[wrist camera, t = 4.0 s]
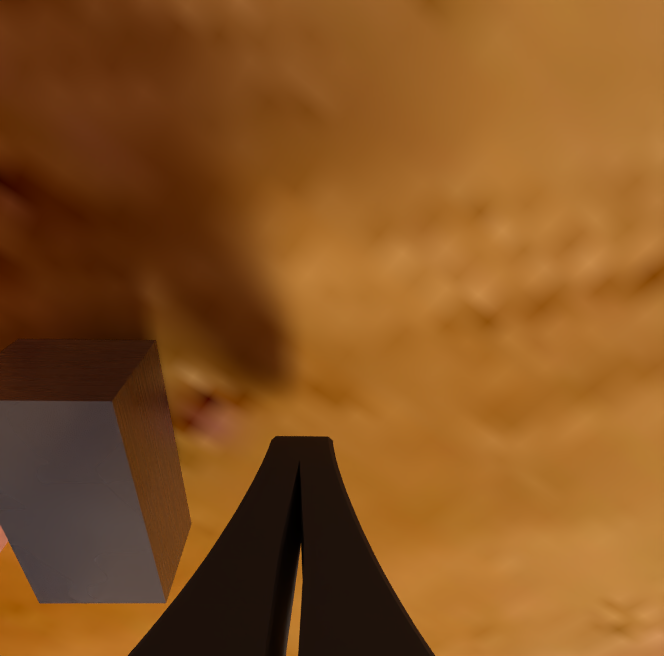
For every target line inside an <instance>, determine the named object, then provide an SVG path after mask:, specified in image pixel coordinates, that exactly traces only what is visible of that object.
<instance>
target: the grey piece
mask: <svg viewBox="0 0 664 656" xmlns="http://www.w3.org/2000/svg"><path fill="white" fill-rule="evenodd" d="M0 525H1V527H2V529H3V531H4V533H5V535H6V537H7V539H8V541H9V543H10V545H11V547H12V549H13V551H14V553H15V555H16V557H17V559H18V561H19V563H20V565H21V567H22V569H23V571H24V573H25V575H26V577H27V579H28V581H29V583H30V585H31V587H32V589H33V591H34V593H35V595H36V597H37V599H38V601H39V603H166V602H167V598H168V595H169V592H170V589H171V586H172V583H173V580H174V577H175V573H176V570H177V567H178V564H179V561H180V558H181V555H182V552H183V548H184V545H185V542H186V539H187V536H188V533H189V530H190V527H191V519H190V514H189V509H188V504H187V499H186V494H185V488H184V483H183V478H182V473H181V468H180V463H179V458H178V452H177V447H176V442H175V437H174V432H173V427H172V422H171V417H170V411H169V406H168V401H167V396H166V391H165V386H164V381H163V375H162V370H161V365H160V360H159V355H158V350H157V345H156V340H74V339H17V340H16V341H15V342H13V343H12V344H11V345H9V346H8V347H7V348H6V349H4V350H3V351H2V352H0Z"/></svg>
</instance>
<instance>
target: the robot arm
mask: <svg viewBox="0 0 664 656" xmlns="http://www.w3.org/2000/svg"><path fill="white" fill-rule="evenodd" d="M300 546H301V550H302V575H303V585H302V603H301V619H300V635H299V652H298V656H435V655H434V653H433V652H432V650H431V649H430V647H429V646H428V644H427V643H426V641H425V640H424V638H423V637H422V635H421V634H420V632H419V631H418V630H417V628H416V626H415V625H414V623H413V622H412V620H411V618H410V617H409V615H408V613H407V612H406V610H405V608H404V607H403V605H402V603H401V602H400V600H399V598H398V597H397V595H396V593H395V591H394V590H393V588H392V586H391V584H390V583H389V581H388V579H387V577H386V575H385V574H384V572H383V570H382V568H381V566H380V564H379V562H378V560H377V558H376V557H375V555H374V553H373V551H372V549H371V546H370V544H369V542H368V540H367V538H366V536H365V534H364V532H363V530H362V528H361V525H360V523H359V521H358V519H357V516H356V514H355V511H354V509H353V507H352V504H351V502H350V499H349V497H348V494H347V492H346V489H345V486H344V483H343V481H342V477H341V474H340V471H339V468H338V465H337V461H336V457H335V453H334V447H333V440H331V439H330V438H329V437H314V436H276V437H275V438H273V439H272V440H271V443H270V446H269V448H268V451H267V453H266V456H265V458H264V460H263V462H262V464H261V466H260V468H259V470H258V472H257V474H256V476H255V478H254V480H253V482H252V484H251V486H250V488H249V489H248V491H247V493H246V495H245V496H244V498H243V500H242V502H241V503H240V505H239V507H238V509H237V510H236V512H235V514H234V515H233V517H232V519H231V520H230V522H229V523H228V525H227V526H226V528H225V529H224V531H223V532H222V534H221V536H220V537H219V539H218V540H217V542H216V543H215V545H214V546H213V548H212V549H211V551H210V552H209V554H208V555H207V557H206V558H205V559H204V561H203V562H202V564H201V565H200V566H199V568H198V569H197V571H196V572H195V573H194V575H193V576H192V577H191V579H190V580H189V581H188V583H187V584H186V585H185V587H184V588H183V589H182V591H181V592H180V593H179V594H178V596H177V597H176V598H175V600H174V601H173V602H172V603H171V604H170V606H169V607H168V608H167V609H166V611H165V612H164V613H163V614H162V616H161V617H160V618H159V619H158V620H157V622H156V623H155V624H154V625H153V627H152V628H151V629H150V630H149V631H148V633H147V634H146V635H145V636H144V637H143V639H142V640H141V641H140V642H139V643H138V644H137V646H136V647H135V648H134V649H133V650H132V651H131V652H130V654H129V655H128V656H286V649H287V641H288V634H289V627H290V620H291V612H292V605H293V598H294V590H295V583H296V576H297V569H298V561H299V554H300Z"/></svg>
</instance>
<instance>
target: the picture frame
mask: <svg viewBox="0 0 664 656" xmlns="http://www.w3.org/2000/svg"><path fill="white" fill-rule="evenodd" d="M7 542H8V539H7V537H6V535H5V533H4V531H3V529H2V527H1V525H0V552H1V550H2V549H3V548H4V546H5V545H6V543H7Z"/></svg>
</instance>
